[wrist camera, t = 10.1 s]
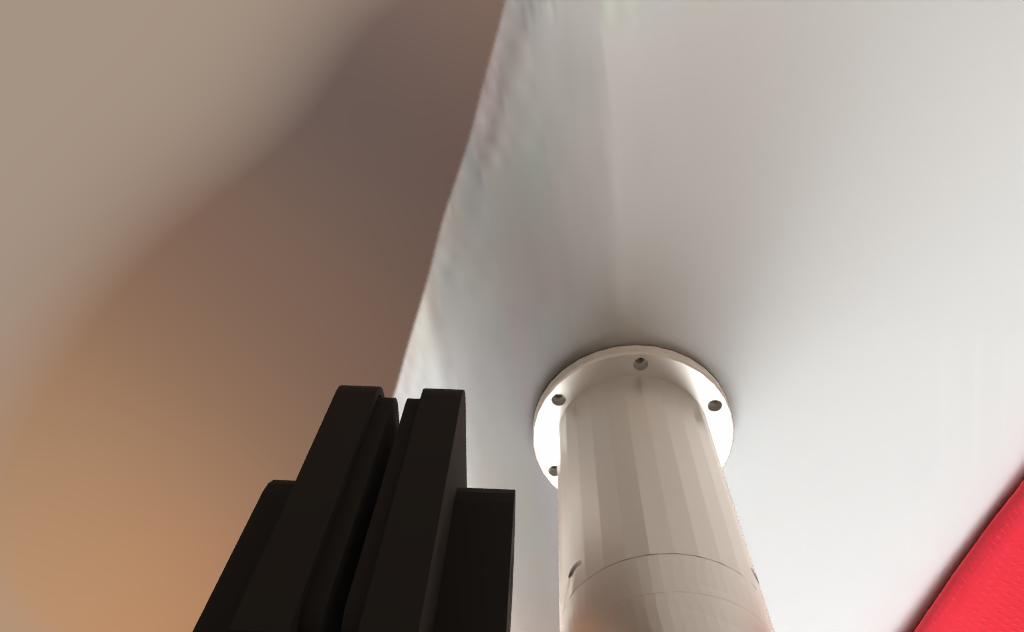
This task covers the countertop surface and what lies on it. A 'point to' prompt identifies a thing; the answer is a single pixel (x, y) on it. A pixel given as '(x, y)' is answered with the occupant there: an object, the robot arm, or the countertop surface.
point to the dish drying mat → (986, 580)
